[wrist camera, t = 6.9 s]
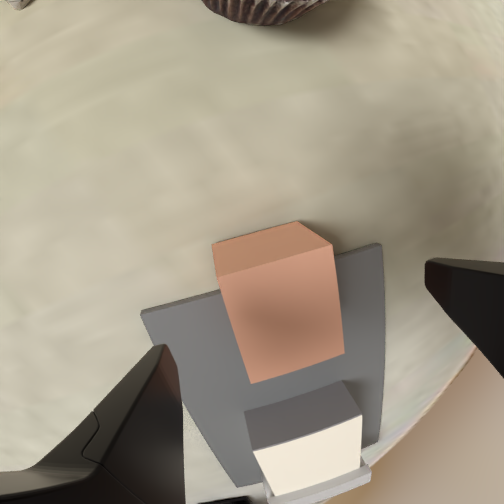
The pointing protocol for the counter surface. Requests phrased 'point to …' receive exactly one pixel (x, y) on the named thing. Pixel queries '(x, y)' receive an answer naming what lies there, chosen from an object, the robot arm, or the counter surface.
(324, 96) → the counter surface
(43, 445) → the counter surface
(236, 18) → the cupcake
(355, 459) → the grey flat tray
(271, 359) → the stub
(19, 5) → the packaged product
